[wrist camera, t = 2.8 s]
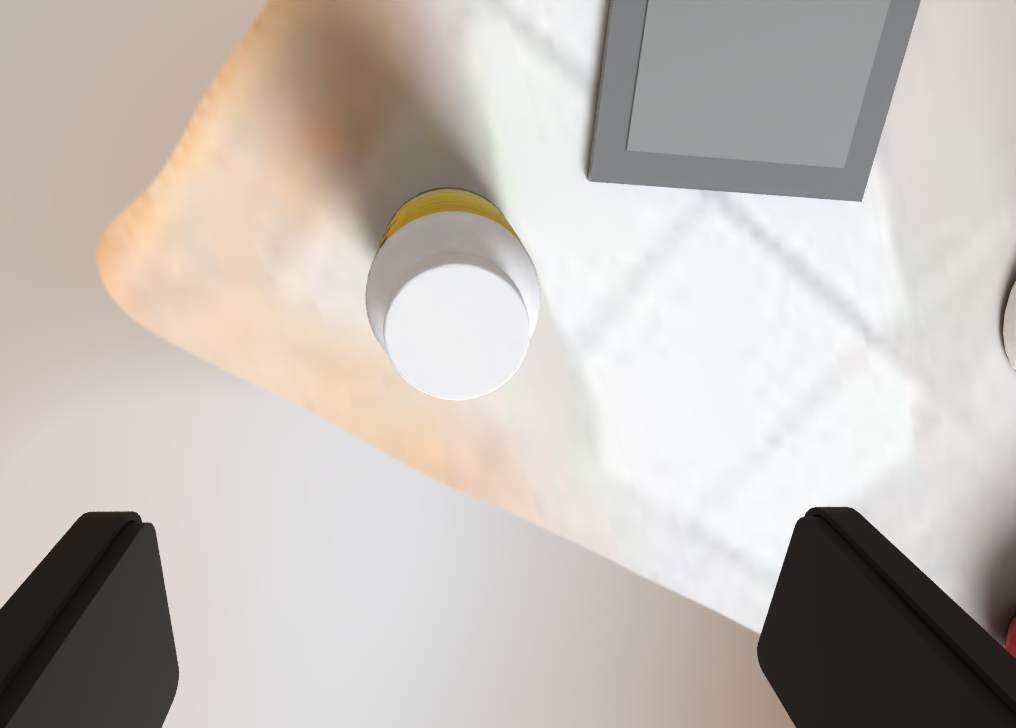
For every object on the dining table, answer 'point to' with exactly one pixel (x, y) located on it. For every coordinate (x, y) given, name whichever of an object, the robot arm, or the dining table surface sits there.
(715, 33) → the coaster
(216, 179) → the dining table surface
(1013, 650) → the apple
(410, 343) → the pill bottle
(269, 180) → the dining table surface
